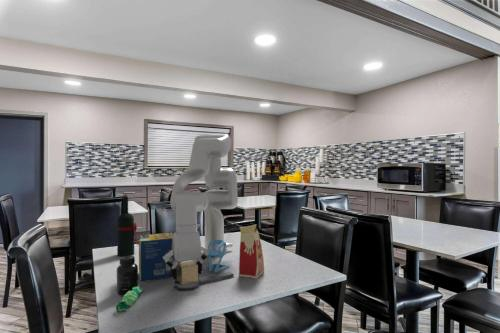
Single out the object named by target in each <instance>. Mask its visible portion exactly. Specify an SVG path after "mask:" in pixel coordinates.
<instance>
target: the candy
mask: <svg viewBox="0 0 500 333" xmlns="http://www.w3.org/2000/svg"><path fill="white" fill-rule="evenodd" d="M143 291H144V290H143V288H142V287H141V285H138V286H134V287H133V289H132V291H128V292H127V293H126V294H125V295H124V296H122V299H121V301H119V302H117V305H116V306H115V310H116V311H117V313H119V312H121V311H125V312H127V310H128V308H129V307H132V306H133V305H134V304H135V302H136V301H137V299H138V297H139V296H141V295H142V292H143Z"/></svg>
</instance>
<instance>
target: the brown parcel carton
mask: <svg viewBox="0 0 500 333" xmlns="http://www.w3.org/2000/svg"><path fill="white" fill-rule="evenodd" d="M196 263H197V262H194V260H189V261H184V262H181V263H178V264H177V266H176V269H177V279H176V280H177V281H178V282H179V283H180V284H181V285H186V284H190V283H195V282H198V278H199V274H198V265H197V264H196Z"/></svg>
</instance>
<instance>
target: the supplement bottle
mask: <svg viewBox="0 0 500 333" xmlns="http://www.w3.org/2000/svg"><path fill="white" fill-rule="evenodd" d="M135 261H136V258H135V256H134V255H132V256H131V255H130V256H123V257H119V265H118V266H117V267H116V293H117V294H118V296H122V297H124V295H125V294H126V293H127V292H128V291H132V289H133V287H134V286H139V265H138V264H136V263H135Z"/></svg>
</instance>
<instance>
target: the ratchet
mask: <svg viewBox="0 0 500 333" xmlns="http://www.w3.org/2000/svg"><path fill="white" fill-rule="evenodd" d="M234 276H235V275H234V273H233V272H231V271H225V272H222V273H221V272H220V273H217V274H216V273H215V274H211V275H208V276H202V277H198V282H195V283H190V284H186V285H181V284H180V283H179V282H178V281H177V280H173V288H174V289H175V290H176V291H179V292H188V291H193V290H196V289H198V288H199V287H200V285H205V284H209V283H212V282H213V283H214V282H218V281H221V280H227V279H230V278H234ZM226 278H227V279H226Z"/></svg>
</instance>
